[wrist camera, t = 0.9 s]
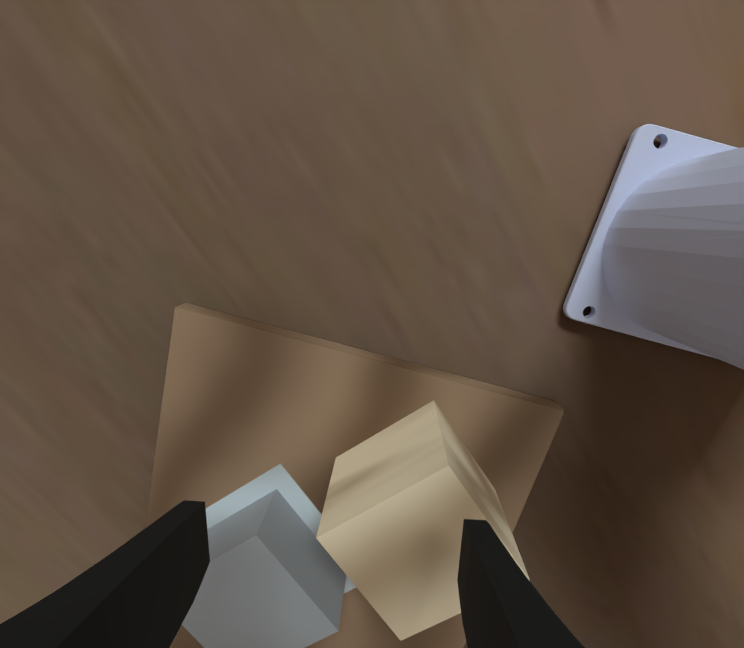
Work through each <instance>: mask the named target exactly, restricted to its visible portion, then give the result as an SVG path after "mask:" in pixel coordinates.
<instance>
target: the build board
mask: <svg viewBox="0 0 744 648" xmlns="http://www.w3.org/2000/svg"><path fill="white" fill-rule="evenodd" d="M433 400H434V401H435V403H436V404H437V406H438V407H439V409H440V410H441V412H442V413H443V415H444V416H445V417H446V419H447V420H448V422H449V423H450V425H451V426H452V428H453V429H454V430H455V432H456V433H457V435H458V436H459V438H460V439H461V441H462V442H463V443H464V445H465V446H466V448H467V449H468V451H469V452H470V454H471V455H472V457H473V458H474V459H475V461H476V462H477V464H478V465H479V467H480V468H481V470H482V471H483V472H484V474H485V475H486V477H487V478H488V480H489V481H490V483H491V484H492V485H493V487H494V488H495V490H496V493H497V495H498V498H499V501H500V503H501V506H502V509H503V511H504V514H505V516H506V519H507V522H508V524H509V527H510V529H511V532H512V533H513V531H514V528H515V526H516V524H517V521H518V519H519V517H520V515H521V512H522V510H523V508H524V505H525V503H526V501H527V498H528V496H529V494H530V491H531V489H532V487H533V484H534V482H535V480H536V477H537V475H538V473H539V470H540V468H541V466H542V463H543V461H544V459H545V456H546V454H547V452H548V449H549V447H550V445H551V442H552V440H553V438H554V435H555V433H556V431H557V428H558V426H559V424H560V421H561V419H562V417H563V414H564V412H565V411H564V410H563V409H562V408H561V406H560V405H559V404H558V403H557V402H556V401H552V400H548V399H545V398H541V397H537V396H533V395H530V394H526V393H522V392H519V391H515V390H511V389H507V388H504V387H500V386H496V385H492V384H489V383H485V382H481V381H477V380H474V379H470V378H466V377H462V376H459V375H455V374H451V373H447V372H444V371H440V370H436V369H433V368H429V367H425V366H421V365H418V364H414V363H410V362H406V361H403V360H399V359H395V358H391V357H388V356H384V355H380V354H376V353H373V352H369V351H365V350H361V349H358V348H354V347H350V346H346V345H343V344H339V343H335V342H332V341H328V340H324V339H320V338H317V337H313V336H309V335H305V334H302V333H298V332H294V331H290V330H287V329H283V328H279V327H275V326H272V325H268V324H264V323H260V322H257V321H253V320H249V319H245V318H242V317H238V316H234V315H231V314H227V313H223V312H219V311H216V310H212V309H208V308H204V307H201V306H197V305H193V304H189V303H185V304H182V305H179V306H177V307H175V312H174V319H173V326H172V334H171V341H170V348H169V356H168V363H167V370H166V378H165V385H164V392H163V400H162V407H161V414H160V422H159V429H158V436H157V444H156V451H155V458H154V466H153V473H152V480H151V488H150V495H149V502H148V510H147V517H146V524H145V528H147V527H148V526H149V525H151V524H152V523H153V522H155V521H156V520H157V519H159V518H160V517H161V516H163V515H164V514H165V513H167V512H168V511H169V510H171V509H172V508H174V507H175V506H176V505H178V504H179V503H181V502H182V501H184V500H188V501H203V502H205V507H206V519H207V529H209V528H211V527H212V526H214V525H216V524H217V523H219V522H221V521H223V520H224V519H226V518H228V517H229V516H231V515H233V514H234V513H236V512H238V511H240V510H241V509H243V508H245V507H246V506H248V505H250V504H251V503H253V502H255V501H257V500H258V499H260V498H262V497H263V496H265V495H267V494H269V493H270V492H272V491H274V490H275V489H277V490H278V491H279V492H280V493H281V495H282V496H283V497H284V498H285V500H286V501H287V502H288V503H289V504H290V506H291V507H292V508H293V509H294V511H295V512H296V513H297V514H298V515H299V517H300V518H301V519H302V520H303V521H304V523H305V524H306V525H307V526H308V528H309V529H310V530H311V531H312V532H313V534H314V535H315V536H317V532H318V528H319V524H320V520H321V516H322V512H323V508H324V504H325V500H326V496H327V491H328V487H329V483H330V479H331V475H332V471H333V467H334V463H335V459H336V457H338V456H340V455H341V454H343V453H345V452H346V451H348V450H350V449H351V448H353V447H355V446H357V445H358V444H360V443H362V442H363V441H365V440H367V439H369V438H370V437H372V436H374V435H375V434H377V433H379V432H381V431H382V430H384V429H386V428H387V427H389V426H391V425H392V424H394V423H396V422H398V421H399V420H401V419H403V418H404V417H406V416H408V415H410V414H411V413H413V412H415V411H416V410H418V409H420V408H421V407H423V406H425V405H427V404H428V403H430V402H432V401H433ZM465 643H466V637H465V633H464V628H463V623H462V615H461V613H460V614H458V615H455V616H453V617H451V618H449V619H447V620H445V621H443V622H440V623H438V624H436V625H434V626H432V627H430V628H427V629H425V630H423V631H421V632H419V633H417V634H415V635H412V636H410V637H408V638H406V639H404V640H402V641H400V639H399V638H398V637H397V636H396V635H395V633H394V632H393V631H392V630H391V629H390V627H389V626H388V625H387V624H386V622H385V621H384V620H383V619H382V618H381V616H380V615H379V614H378V613H377V612H376V610H375V609H374V608H373V607H372V605H371V604H370V603H369V602H368V601H367V599H366V598H365V597H364V596H363V595H362V593H361V592H360V591H359V590H358V588H357V587H356V586H355V585H354V584H353V582H352V581H351V580H350V579H349V577H348V576H347V575H346V580H345V587H344V595H343V602H342V610H341V617H340V625H339V631H338V632H336V633H334V634H332V635H330V636H328V637H326V638H324V639H322V640H320V641H318V642H315V643H313V644H311V645H309V646H307V647H305V648H463V647H464V645H465Z"/></svg>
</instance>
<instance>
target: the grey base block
mask: <svg viewBox="0 0 744 648" xmlns="http://www.w3.org/2000/svg"><path fill="white" fill-rule="evenodd" d="M207 531H208V542H209V554H210V563H209V566H208V568H207V571H206V573H205V576H204V578H203V581H202V583H201V586H200V588H199V590H198V593H197V595H196V597H195V600H194V602H193V604H192V606H191V608H190V610H189V611H188V613H187V615H186V617H185V619H184V621H183V623H182V625H183V626H184V627H185V628H186V629H187V630H188V632H189V633H190V634H191V635H192V636H193V637H194V638H195V639H196V640H197V641H198V642H199V643H200V644H201V645H202V646H203V647H204V648H305V647H307V646H309V645H311V644H313V643H315V642H318V641H320V640H322V639H324V638H326V637H328V636H330V635H332V634H334V633H336V632H338V631H339V625H340V617H341V610H342V602H343V595H344V587H345V580H346V574H345V573H344V571H343V570H342V569H341V568H340V567H339V565H338V564H337V563H336V562H335V560H334V559H333V558H332V557H331V556H330V554H329V553H328V552H327V551H326V550H325V548H324V547H323V546H322V545H321V543H320V542H319V541H318V540H317V539H316V536H315V535H314V534H313V532H312V531H311V530H310V529H309V528H308V526H307V525H306V524H305V523H304V521H303V520H302V519H301V518H300V517H299V515H298V514H297V513H296V512H295V511H294V509H293V508H292V507H291V506H290V504H289V503H288V502H287V501H286V500H285V498H284V497H283V496H282V495H281V493H280V492H279V491H278V490H277V489H275V490H274V491H272V492H270V493H269V494H267V495H265V496H263V497H262V498H260V499H258V500H257V501H255V502H253V503H251V504H250V505H248V506H246V507H245V508H243V509H241V510H240V511H238V512H236V513H234V514H233V515H231V516H229V517H228V518H226V519H224V520H223V521H221V522H219V523H217V524H216V525H214V526H212V527H211V528H209V529H207Z"/></svg>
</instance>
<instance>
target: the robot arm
mask: <svg viewBox="0 0 744 648" xmlns="http://www.w3.org/2000/svg"><path fill="white" fill-rule="evenodd" d="M656 136H657V137H659V138H660V140H661V144H660V146H659V148H658V149H657V148H656V147H654V144H653V141H654V138H655V137H656ZM588 306H590V307H591V312H590V313H589V314H588V315H586V316H584V315H583V310H584V309H585V308H586V307H588ZM563 312H564V314H565V315H566V316H567V317H569V318H571V319H573V320H576V321H580V322H584V323H587V324H591V325H595V326H598V327H602V328H606V329H609V330H613V331H617V332H621V333H624V334H628V335H632V336H635V337H639V338H643V339H646V340H650V341H654V342H657V343H661V344H665V345H669V346H672V347H676V348H680V349H683V350H687V351H691V352H694V353H698V354H702V355H706V356H709V357H713V358H717V359H719V360H722V361H724V362H727V363H729V364H731V365H734V366H736V367H739V368H741V369H743V370H744V147H742V148H736V147H733V146H729V145H725V144H722V143H718V142H715V141H711V140H707V139H704V138H700V137H697V136H693V135H689V134H686V133H682V132H679V131H675V130H672V129H668V128H664V127H661V126H657V125H654V124H646V125H643V126H641V127H638V128H637V129H636V130H634V131H633V133H632V134H631V136H630V138H629V141H628V143H627V146H626V148H625V151H624V153H623V156H622V159H621V161H620V164H619V166H618V169H617V171H616V174H615V176H614V179H613V181H612V184H611V186H610V189H609V191H608V194H607V196H606V199H605V201H604V204H603V206H602V209H601V211H600V214H599V216H598V219H597V221H596V224H595V226H594V229H593V231H592V234H591V237H590V239H589V242H588V244H587V247H586V249H585V252H584V254H583V257H582V259H581V262H580V264H579V267H578V269H577V272H576V274H575V277H574V279H573V282H572V284H571V287H570V289H569V292H568V294H567V297H566V299H565V302H564V305H563ZM209 563H210V554H209V542H208V531H207V519H206V507H205V502H203V501H188V500H184V501H182V502H181V503H179V504H178V505H176V506H175V507H174V508H172V509H171V510H169V511H168V512H167V513H165V514H164V515H163V516H161V517H160V518H159V519H157V520H156V521H155V522H153V523H152V524H151V525H149V526H148V527H147V528H145V529H144V530H143V531H141V532H140V533H139V534H137V535H136V536H134V537H133V538H132V539H130V540H129V541H128V542H126V543H125V544H123V545H122V546H121V547H119V548H118V549H117V550H115V551H114V552H113V553H111V554H110V555H108V556H107V557H105V558H104V559H102V560H101V561H100V562H98V563H97V564H95V565H94V566H92V567H91V568H89V569H88V570H86V571H85V572H83V573H82V574H80V575H79V576H78V577H76V578H75V579H73V580H72V581H70V582H69V583H67V584H66V585H64V586H63V587H61V588H60V589H58V590H56V591H55V592H53V593H52V594H50V595H49V596H47V597H45V598H44V599H42V600H40V601H39V602H37V603H36V604H34V605H32V606H30V607H29V608H27V609H25V610H24V611H22V612H20V613H19V614H17V615H15V616H14V617H12V618H10V619H9V620H7V621H5V622H3V623H2V624H0V648H169V647H170V645H171V643H172V641H173V639H174V637H175V636H176V634H177V632H178V630H179V628H180V626H181V624H182V623H183V621H184V619H185V617H186V615H187V613H188V611H189V610H190V608H191V606H192V604H193V602H194V600H195V597H196V595H197V593H198V590H199V588H200V586H201V583H202V581H203V578H204V576H205V573H206V571H207V568H208V566H209ZM457 582H458V590H459V599H460V608H461V615H462V623H463V628H464V633H465V637H466V642H467V646H468V648H584V647H583V646H582V644H581V643H580V642H579V641H578V640H577V639H576V638H575V636H574V635H573V634H572V633H571V632H570V631H569V630H568V628H567V627H566V626H565V625H564V624H563V622H562V621H561V620H560V619H559V618H558V616H557V615H556V614H555V613H554V612H553V610H552V609H551V608H550V607H549V605H548V604H547V603H546V602H545V600H544V599H543V598H542V597H541V595H540V594H539V593H538V591H537V590H536V589H535V587H534V586H533V585H532V583H531V582H530V581H529V580H528V578H527V577H526V576H525V574H524V573H523V572H522V570H521V569H520V567H519V566H518V565H517V563H516V562H515V560H514V559H513V558H512V556H511V555H510V553H509V552H508V550H507V549H506V548H505V546H504V545H503V543H502V542H501V540H500V539H499V537H498V536H497V534H496V533H495V531H494V530H493V528H492V527H491V525H490V524H489V523H488V522H487V520H474V519H464V522H463V531H462V540H461V550H460V559H459V568H458V578H457Z"/></svg>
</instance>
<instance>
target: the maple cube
mask: <svg viewBox="0 0 744 648" xmlns="http://www.w3.org/2000/svg"><path fill="white" fill-rule="evenodd" d="M464 519H474V520H487V522H488V523H489V524H490V525H491V527H492V528H493V530H494V531H495V533H496V534H497V536H498V537H499V539H500V540H501V542H502V543H503V545H504V546H505V548H506V549H507V550H508V552H509V553H510V555H511V556H512V558H513V559H514V560H515V562H516V563H517V565H518V566H519V567H520V569H521V570H522V572H523V573H524V574H525V576H526V577H527V578H528V580H529V581H530V579H529V576H528V574H527V571H526V569H525V566H524V563H523V561H522V558H521V555H520V553H519V550H518V548H517V545H516V542H515V540H514V537H513V535H512V532H511V529H510V527H509V524H508V522H507V519H506V516H505V514H504V511H503V509H502V506H501V503H500V501H499V498H498V495H497V493H496V490H495V488H494V487H493V485H492V484H491V483H490V481H489V480H488V478H487V477H486V475H485V474H484V472H483V471H482V470H481V468H480V467H479V465H478V464H477V462H476V461H475V459H474V458H473V457H472V455H471V454H470V452H469V451H468V449H467V448H466V446H465V445H464V443H463V442H462V441H461V439H460V438H459V436H458V435H457V433H456V432H455V430H454V429H453V428H452V426H451V425H450V423H449V422H448V420H447V419H446V417H445V416H444V415H443V413H442V412H441V410H440V409H439V407H438V406H437V404H436V403H435V401H434V400H433V401H432V402H430V403H428V404H427V405H425V406H423V407H421V408H420V409H418V410H416V411H415V412H413V413H411V414H410V415H408V416H406V417H404V418H403V419H401V420H399V421H398V422H396V423H394V424H392V425H391V426H389V427H387V428H386V429H384V430H382V431H381V432H379V433H377V434H375V435H374V436H372V437H370V438H369V439H367V440H365V441H363V442H362V443H360V444H358V445H357V446H355V447H353V448H351V449H350V450H348V451H346V452H345V453H343V454H341V455H340V456H338V457H336V459H335V463H334V467H333V471H332V475H331V479H330V483H329V487H328V491H327V496H326V500H325V504H324V508H323V512H322V516H321V520H320V524H319V528H318V532H317V536H316V539H317V540H318V541H319V542H320V543H321V545H322V546H323V547H324V548H325V550H326V551H327V552H328V553H329V554H330V556H331V557H332V558H333V559H334V560H335V562H336V563H337V564H338V565H339V567H340V568H341V569H342V570H343V571H344V573H345V574H346V575H347V576H348V577H349V579H350V580H351V581H352V582H353V584H354V585H355V586H356V587H357V588H358V590H359V591H360V592H361V593H362V595H363V596H364V597H365V598H366V599H367V601H368V602H369V603H370V604H371V605H372V607H373V608H374V609H375V610H376V612H377V613H378V614H379V615H380V616H381V618H382V619H383V620H384V621H385V622H386V624H387V625H388V626H389V627H390V629H391V630H392V631H393V632H394V633H395V635H396V636H397V637H398V638H399V639H400V641H402V640H404V639H406V638H408V637H410V636H412V635H415V634H417V633H419V632H421V631H423V630H425V629H427V628H430V627H432V626H434V625H436V624H438V623H440V622H443V621H445V620H447V619H449V618H451V617H453V616H455V615H458V614H460V613H461V608H460V599H459V590H458V582H457V578H458V568H459V559H460V550H461V540H462V531H463V522H464Z"/></svg>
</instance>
